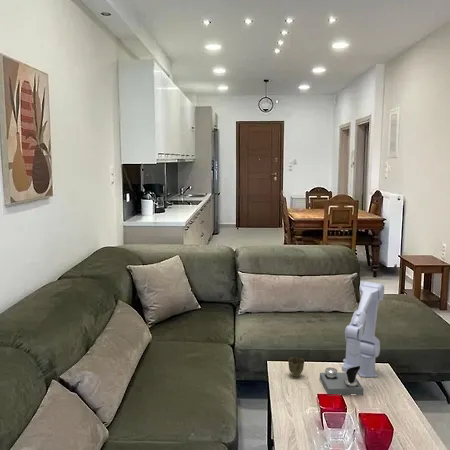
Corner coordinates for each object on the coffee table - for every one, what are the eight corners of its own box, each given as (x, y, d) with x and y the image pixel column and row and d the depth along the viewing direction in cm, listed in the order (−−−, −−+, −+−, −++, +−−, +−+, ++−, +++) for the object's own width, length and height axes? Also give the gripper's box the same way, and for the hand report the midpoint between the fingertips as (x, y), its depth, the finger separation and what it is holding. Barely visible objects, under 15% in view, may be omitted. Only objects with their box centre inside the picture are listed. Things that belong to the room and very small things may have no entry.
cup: (306, 375, 219) (307, 358, 217) (300, 381, 212) (300, 364, 211) (291, 371, 223) (292, 355, 221) (285, 377, 216) (285, 360, 215)
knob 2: (343, 386, 207) (343, 378, 206) (354, 386, 207) (355, 378, 207) (346, 392, 202) (347, 384, 201) (358, 392, 202) (359, 384, 201)
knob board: (319, 378, 215) (320, 372, 215) (352, 378, 216) (352, 372, 215) (328, 395, 200) (328, 388, 200) (362, 395, 201) (363, 388, 200)
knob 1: (323, 375, 213) (324, 367, 213) (335, 375, 213) (335, 367, 213) (326, 380, 208) (327, 372, 208) (338, 380, 208) (338, 372, 208)
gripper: (352, 344, 210) (350, 373, 212) (336, 354, 199) (334, 384, 201) (367, 349, 205) (365, 378, 207) (351, 359, 195) (349, 390, 197)
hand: (351, 382), depth 204 cm, fingers closed, pressing on knob 2
